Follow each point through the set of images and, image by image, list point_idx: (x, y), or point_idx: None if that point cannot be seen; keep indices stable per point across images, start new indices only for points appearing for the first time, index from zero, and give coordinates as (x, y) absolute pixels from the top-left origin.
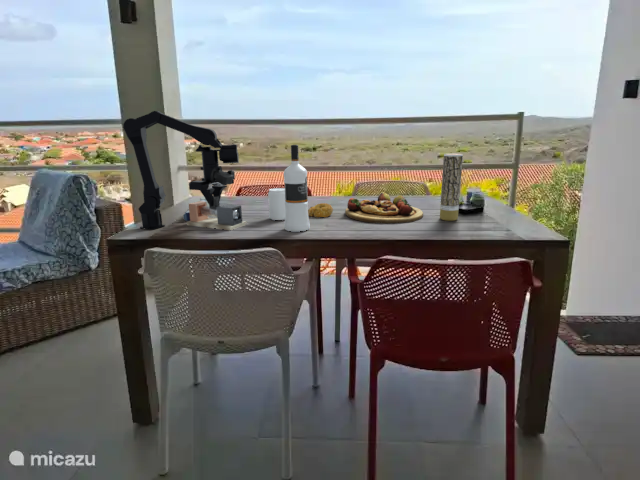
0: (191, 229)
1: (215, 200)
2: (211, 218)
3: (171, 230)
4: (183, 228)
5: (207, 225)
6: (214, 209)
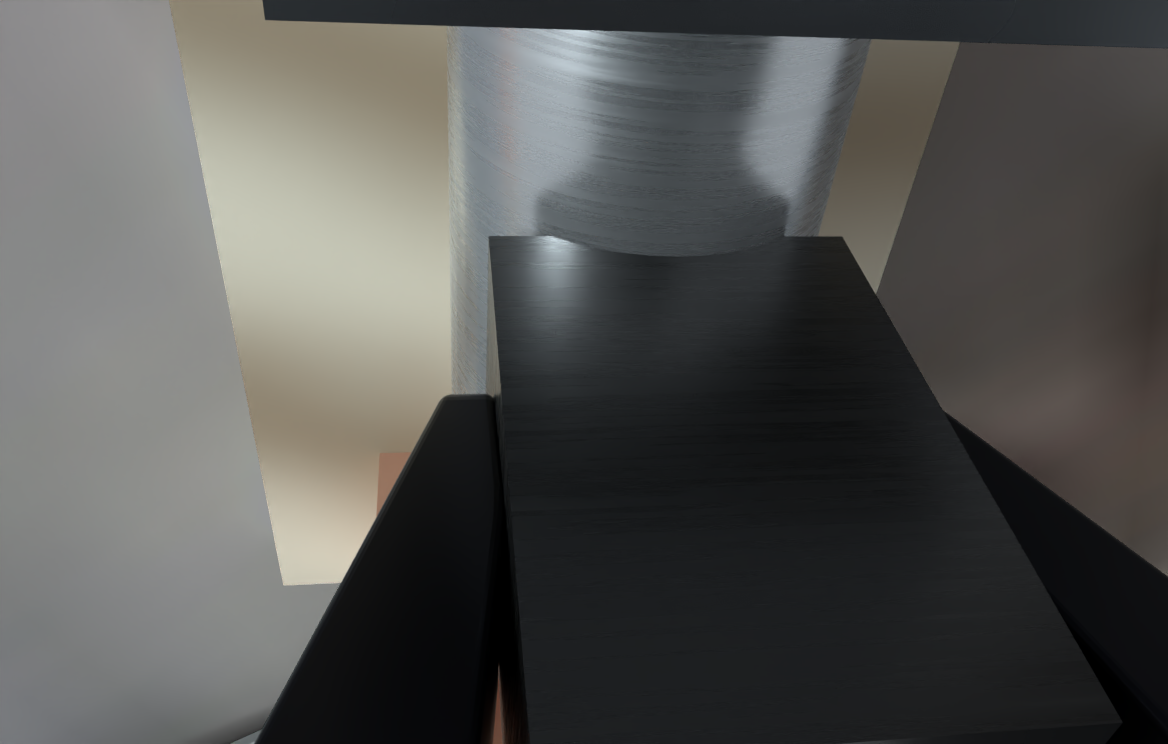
0: (1072, 271)
1: (857, 519)
2: (331, 399)
3: (1135, 485)
4: (998, 427)
5: (938, 75)
6: (804, 245)
